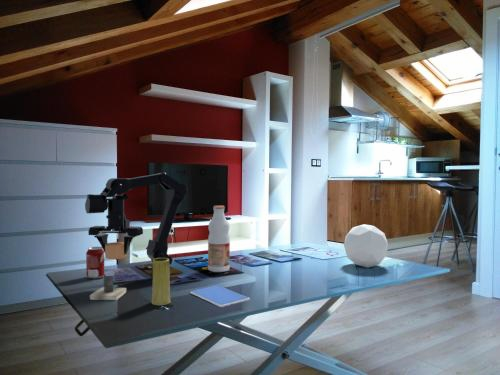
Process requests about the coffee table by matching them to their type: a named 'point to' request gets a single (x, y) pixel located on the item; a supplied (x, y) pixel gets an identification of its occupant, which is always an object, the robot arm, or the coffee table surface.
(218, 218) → the fruit juice
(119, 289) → the shaft block
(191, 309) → the coffee table surface
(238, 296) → the tablet computer
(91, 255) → the soda can
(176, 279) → the coffee table surface
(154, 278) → the vase
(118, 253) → the ring
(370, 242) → the geometric polyhedron
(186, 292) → the coffee table surface
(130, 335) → the coffee table surface
